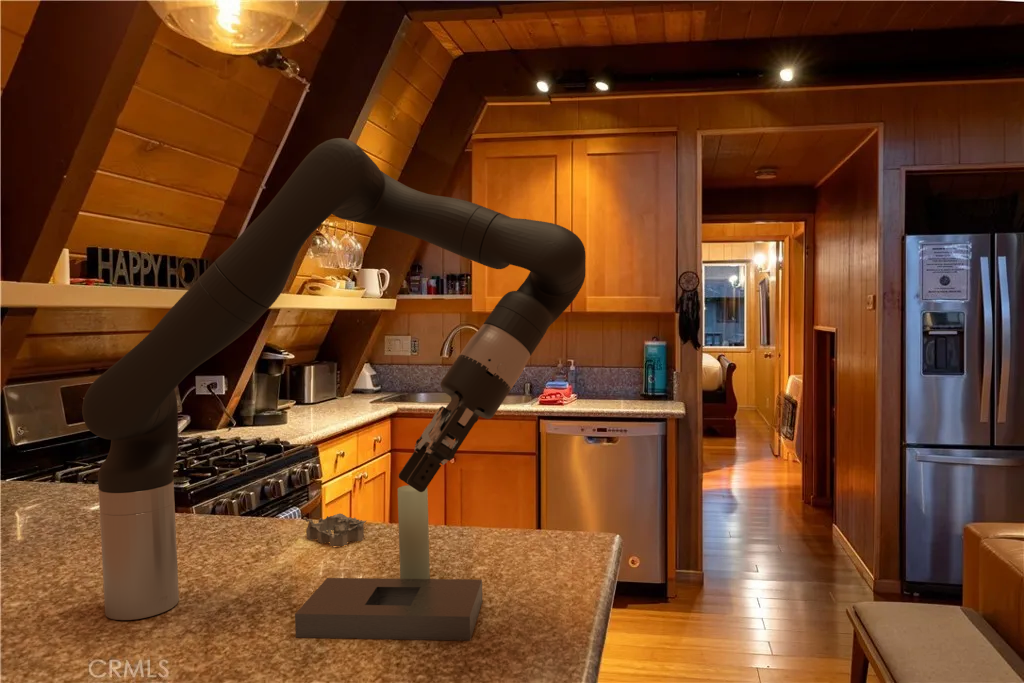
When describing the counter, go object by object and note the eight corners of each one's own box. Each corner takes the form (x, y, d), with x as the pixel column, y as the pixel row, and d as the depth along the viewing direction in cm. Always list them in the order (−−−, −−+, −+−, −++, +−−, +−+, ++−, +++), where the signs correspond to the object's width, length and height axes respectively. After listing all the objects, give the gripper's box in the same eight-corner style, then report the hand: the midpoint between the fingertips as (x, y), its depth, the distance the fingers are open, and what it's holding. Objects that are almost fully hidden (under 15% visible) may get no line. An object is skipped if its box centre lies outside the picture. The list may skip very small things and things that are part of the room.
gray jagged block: (300, 539, 131) (299, 516, 131) (336, 529, 137) (335, 507, 136) (334, 551, 124) (333, 527, 124) (370, 540, 129) (370, 517, 129)
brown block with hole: (295, 637, 91) (294, 614, 91) (327, 598, 103) (327, 577, 103) (470, 640, 89) (469, 616, 89) (482, 600, 101) (481, 579, 101)
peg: (394, 580, 109) (391, 488, 108) (418, 573, 112) (416, 483, 111) (411, 588, 106) (408, 493, 105) (435, 580, 109) (433, 488, 108)
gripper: (450, 358, 94) (376, 463, 91) (473, 346, 81) (388, 470, 77) (496, 391, 96) (426, 497, 92) (527, 385, 82) (446, 509, 78)
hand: (409, 485), depth 84 cm, fingers open, 8 cm apart
